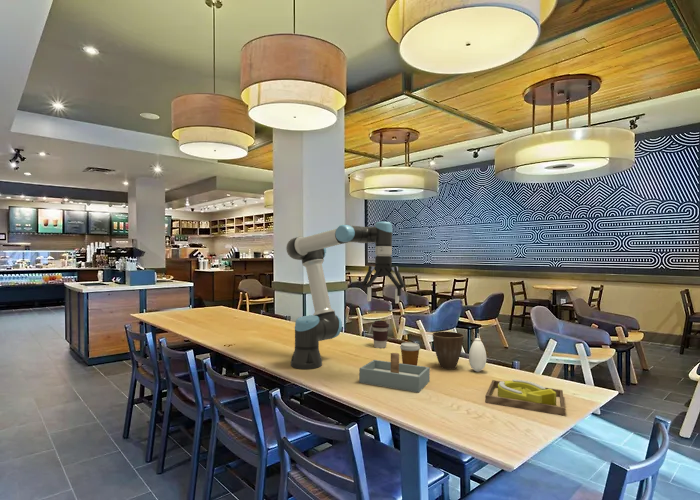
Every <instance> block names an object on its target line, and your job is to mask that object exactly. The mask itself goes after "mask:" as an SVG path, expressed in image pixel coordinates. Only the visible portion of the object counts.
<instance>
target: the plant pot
mask: <svg viewBox="0 0 700 500" xmlns="http://www.w3.org/2000/svg"><path fill="white" fill-rule="evenodd" d="M431 335H432V341H433V347H434V351H435V355H436V359H437V362H438V364H439V367H440V368H441V369H444V370H455V369H456V368H457V365H458V363H459V360H460V357H461V353H462V349H463V344H464V339H465V338H464V337H465V335H464V334H463V333H461V332H455V331H435V332H432V334H431Z"/></svg>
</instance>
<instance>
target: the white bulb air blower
mask: <svg viewBox="0 0 700 500" xmlns="http://www.w3.org/2000/svg"><path fill="white" fill-rule="evenodd" d="M481 340H482V339H481V338H479V333H477V337H476V338H474V340H473V342H472V344H471V345H470V349H469V351H468V352H469V353H468V362H469V366H470V367H471V369H472V370H473V371H475V372H477V373H479V372H481V371H482V370H484V369H485V366H486V364H487V351H486V347H485V346H484V343H483V341H481Z"/></svg>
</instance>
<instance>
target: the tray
mask: <svg viewBox="0 0 700 500" xmlns="http://www.w3.org/2000/svg"><path fill="white" fill-rule="evenodd" d="M430 369H431V368H430V366H429V367H428V366H423V365H417V366H416V365H409V364H403V363H402V362H401V363H400V362H399V373H392V372H391V361H385V360H378V359H373V360H371V361H369V362H368V363H366V364H365V365H362V366H361V367H359V374H358V375H359V379H358V380H359V381H358V382H359V383H361V384H366V385H372V386H378V387H384V388H391V389H395V390H402V391H408V392H414V393H420V392H421V391H422V390H423V389H424V388H425V387H426V385H428V383H430V378H431V377H430V372H431V370H430Z"/></svg>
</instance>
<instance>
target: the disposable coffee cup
mask: <svg viewBox="0 0 700 500" xmlns="http://www.w3.org/2000/svg"><path fill="white" fill-rule="evenodd" d="M399 349H400V351H401V352H400V353H401V361H402V362H401V364H409V365H416V366H418V362H419V361H418V360H419V354H420V350H421V347H420V344H419V343H416V342H402V343H401V344H400V346H399Z"/></svg>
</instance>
